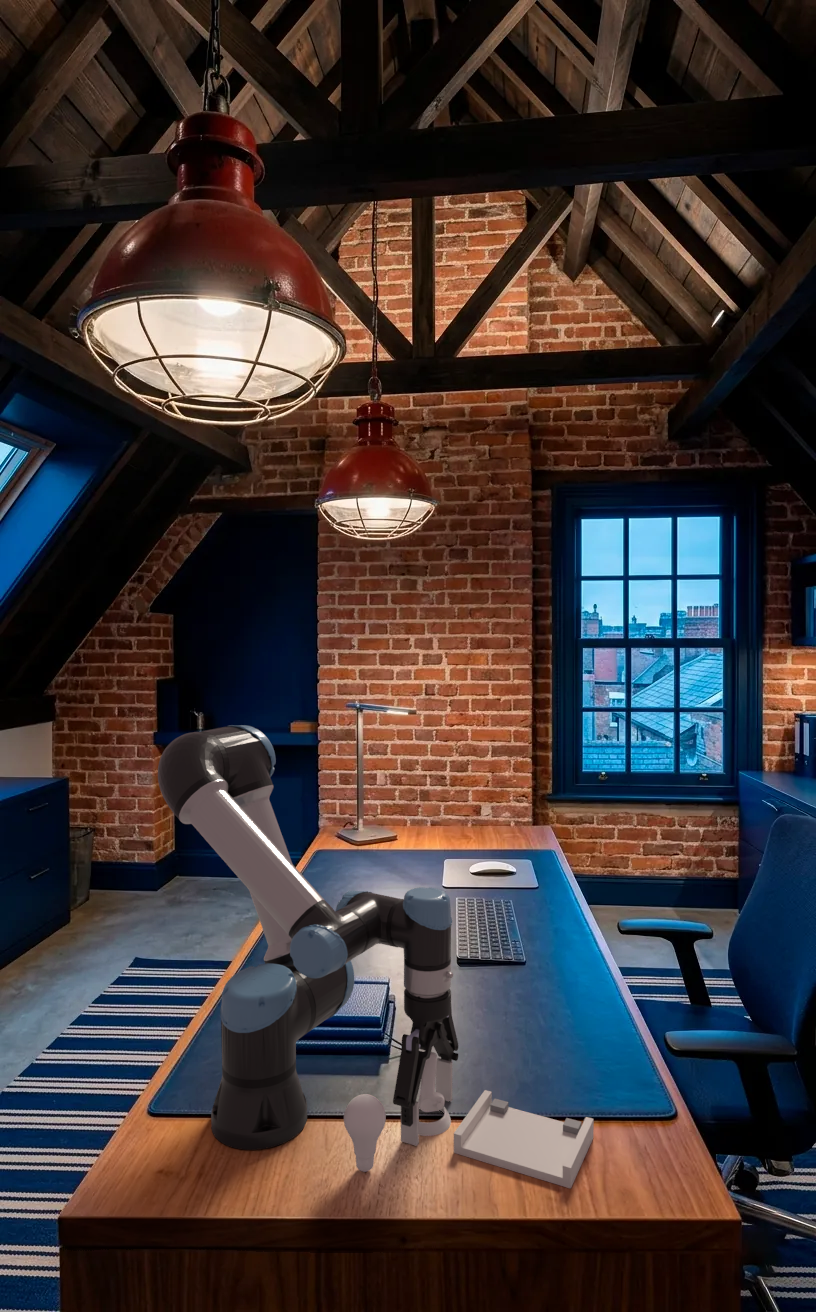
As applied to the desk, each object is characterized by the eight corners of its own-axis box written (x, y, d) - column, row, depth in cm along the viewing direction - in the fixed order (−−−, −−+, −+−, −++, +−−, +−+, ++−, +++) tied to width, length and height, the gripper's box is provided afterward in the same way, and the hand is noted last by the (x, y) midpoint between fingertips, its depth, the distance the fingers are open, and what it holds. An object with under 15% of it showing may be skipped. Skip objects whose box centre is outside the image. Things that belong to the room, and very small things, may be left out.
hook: (444, 1060, 144) (458, 1054, 138) (442, 1141, 137) (456, 1138, 131) (402, 1055, 142) (414, 1049, 137) (398, 1136, 136) (410, 1134, 130)
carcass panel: (453, 1152, 127) (453, 1133, 127) (484, 1107, 139) (484, 1089, 139) (570, 1188, 119) (570, 1168, 119) (593, 1137, 131) (593, 1118, 131)
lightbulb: (391, 1162, 125) (391, 1089, 124) (376, 1188, 119) (376, 1112, 119) (353, 1153, 127) (353, 1082, 126) (337, 1179, 121) (336, 1104, 121)
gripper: (415, 1026, 121) (415, 1171, 122) (477, 964, 143) (477, 1087, 144) (369, 1016, 125) (370, 1156, 126) (437, 956, 147) (437, 1076, 148)
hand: (427, 1119), depth 135 cm, fingers open, 12 cm apart
